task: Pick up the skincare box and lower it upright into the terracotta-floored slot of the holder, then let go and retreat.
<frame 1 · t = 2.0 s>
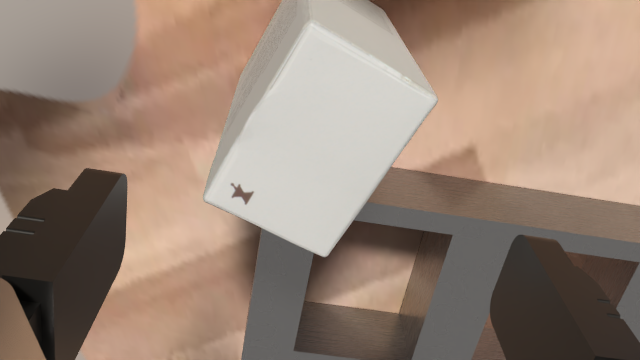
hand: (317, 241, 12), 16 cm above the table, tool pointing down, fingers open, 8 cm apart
holder: (443, 260, 32), on the table
skincare box: (313, 40, 27), on the table
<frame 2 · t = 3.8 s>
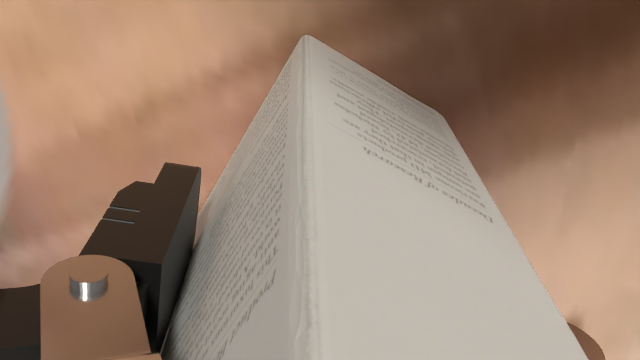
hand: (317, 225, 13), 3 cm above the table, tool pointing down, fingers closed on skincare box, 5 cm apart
skincare box: (318, 162, 16), on the table, touching gripper
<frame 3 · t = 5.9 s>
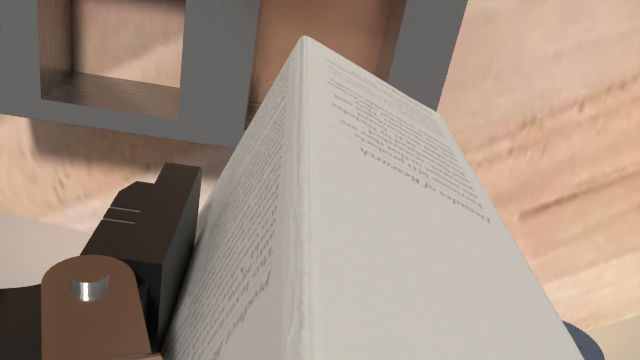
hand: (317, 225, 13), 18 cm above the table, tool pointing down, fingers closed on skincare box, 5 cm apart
holder: (229, 17, 29), on the table
skincare box: (317, 162, 16), point 15 cm above the table, touching gripper
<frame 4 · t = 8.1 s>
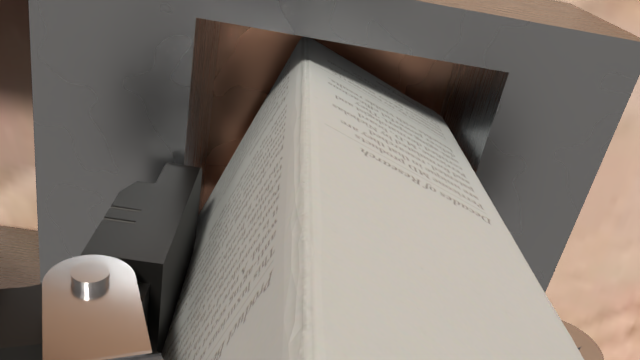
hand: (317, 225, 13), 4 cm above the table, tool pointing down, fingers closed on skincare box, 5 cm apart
holder: (154, 124, 16), on the table
skincare box: (317, 163, 16), point 1 cm above the table, touching gripper
when the fingers open (4 cm above the table, at t = 8.4 s): skincare box stays where it is, resting on holder.
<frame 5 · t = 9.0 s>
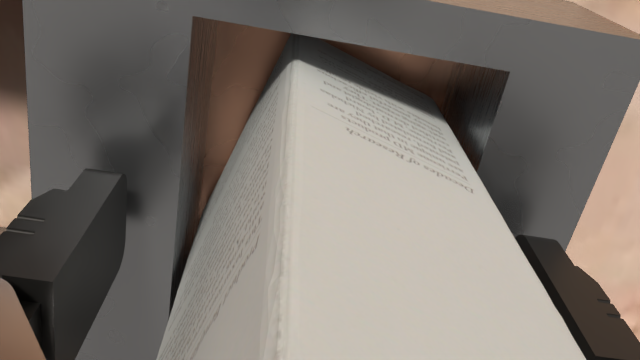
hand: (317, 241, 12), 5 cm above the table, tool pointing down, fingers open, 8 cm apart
holder: (151, 124, 16), on the table
skincare box: (316, 150, 16), resting on holder
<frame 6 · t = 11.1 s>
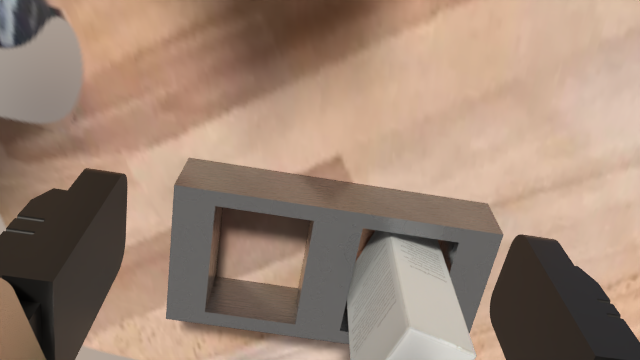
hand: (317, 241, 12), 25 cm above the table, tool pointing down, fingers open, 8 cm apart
holder: (327, 245, 41), on the table
skincare box: (391, 254, 42), resting on holder
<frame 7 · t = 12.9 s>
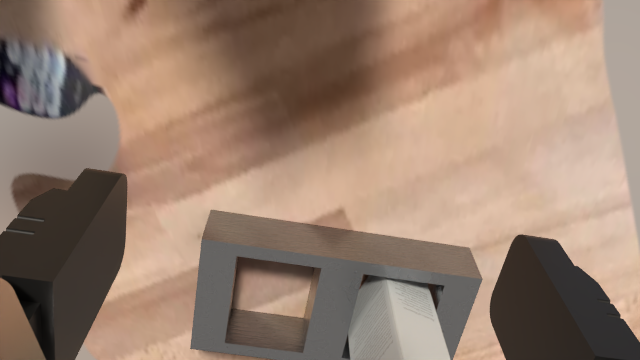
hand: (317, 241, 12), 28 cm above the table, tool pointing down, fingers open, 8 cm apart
holder: (330, 282, 47), on the table
skincare box: (385, 289, 48), resting on holder
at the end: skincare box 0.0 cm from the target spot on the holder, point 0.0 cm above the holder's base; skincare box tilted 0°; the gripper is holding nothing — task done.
